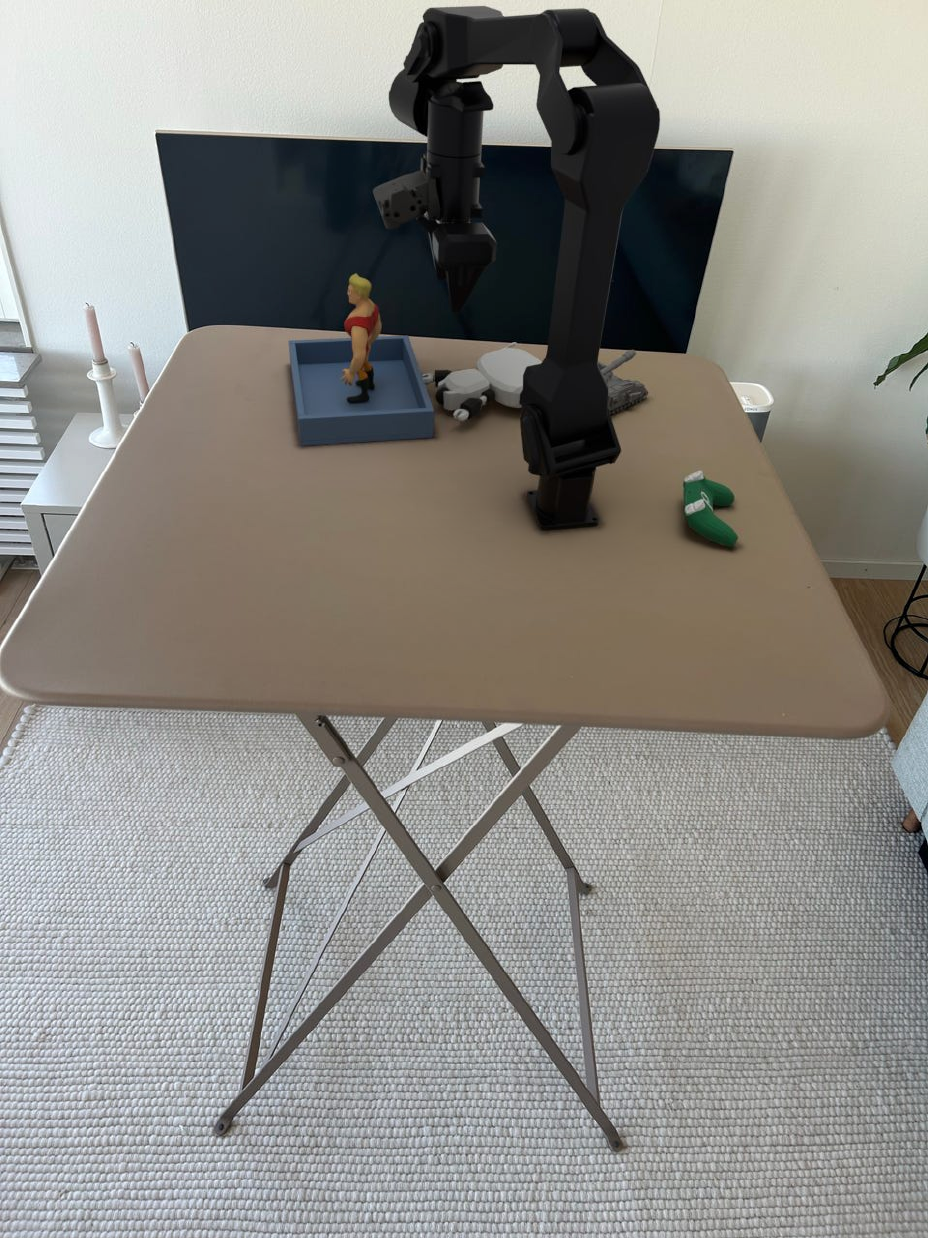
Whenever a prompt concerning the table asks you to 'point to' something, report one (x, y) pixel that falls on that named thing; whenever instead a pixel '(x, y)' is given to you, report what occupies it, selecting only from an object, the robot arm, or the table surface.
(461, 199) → the robot arm
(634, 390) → the tank toy
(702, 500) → the green christmas stockings
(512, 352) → the robot toy
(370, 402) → the storage bin
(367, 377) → the action figure
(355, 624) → the table surface
